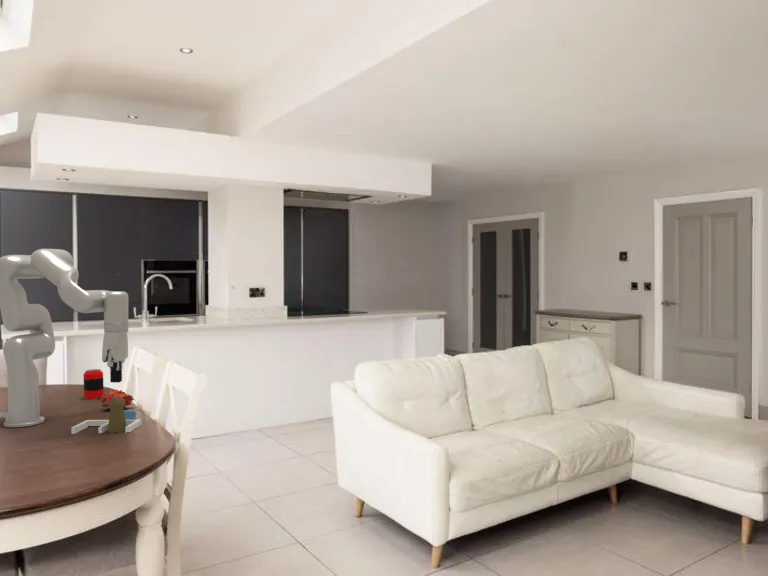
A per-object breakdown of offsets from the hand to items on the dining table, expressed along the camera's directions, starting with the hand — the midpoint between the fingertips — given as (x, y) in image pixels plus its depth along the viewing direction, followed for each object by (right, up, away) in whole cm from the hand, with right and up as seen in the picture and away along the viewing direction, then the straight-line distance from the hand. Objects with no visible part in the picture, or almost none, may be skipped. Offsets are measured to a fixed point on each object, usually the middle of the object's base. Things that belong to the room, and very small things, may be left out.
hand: (116, 381), depth 205 cm
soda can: (-33, -16, +54) cm, 65 cm away
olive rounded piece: (+1, -17, -1) cm, 17 cm away
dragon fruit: (-13, -16, +32) cm, 38 cm away
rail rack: (-4, -16, +1) cm, 17 cm away
